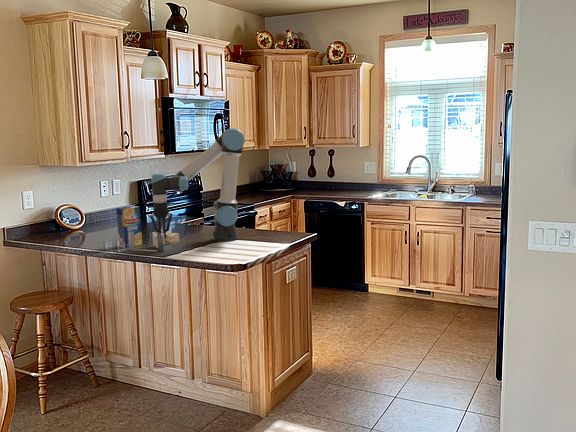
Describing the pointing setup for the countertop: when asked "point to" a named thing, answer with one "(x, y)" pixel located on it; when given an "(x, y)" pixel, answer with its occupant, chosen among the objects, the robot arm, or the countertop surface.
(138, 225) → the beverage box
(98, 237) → the countertop surface
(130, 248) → the latch post
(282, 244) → the countertop surface
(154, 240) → the white upright plank
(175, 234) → the oak block
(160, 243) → the posts
